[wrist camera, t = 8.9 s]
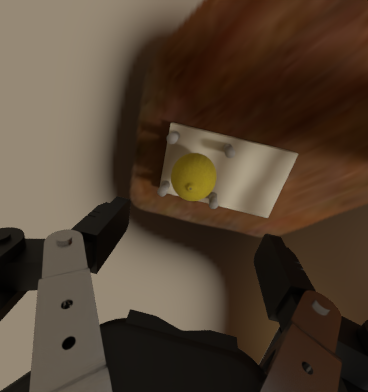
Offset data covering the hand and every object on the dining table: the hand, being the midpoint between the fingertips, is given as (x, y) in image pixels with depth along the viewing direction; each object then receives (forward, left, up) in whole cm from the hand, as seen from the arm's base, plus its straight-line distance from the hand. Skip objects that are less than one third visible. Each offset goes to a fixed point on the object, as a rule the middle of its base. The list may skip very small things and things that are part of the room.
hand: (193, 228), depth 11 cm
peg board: (-3, +2, -19) cm, 19 cm away
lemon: (+1, +2, -17) cm, 17 cm away
